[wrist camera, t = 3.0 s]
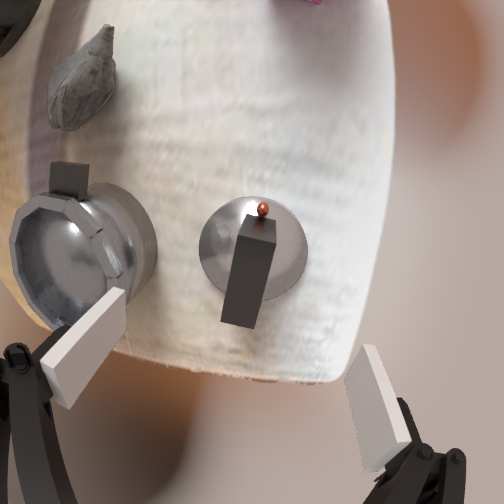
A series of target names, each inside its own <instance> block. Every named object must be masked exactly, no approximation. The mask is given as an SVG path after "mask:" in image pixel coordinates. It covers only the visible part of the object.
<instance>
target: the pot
mask: <svg viewBox="0 0 504 504" xmlns="http://www.w3.org/2000/svg"><path fill="white" fill-rule="evenodd" d="M89 165H90V164H81V163H72V162H62V161H58V162H52V163H51V167H50V185H49V193H47V192H44V193H41V194H38V195H36V196H34V197H33V198H32V199H30V200H29V201H28V202H27V203H25V204H24V205H23V206H22V207H21V208H19V209H18V210H17V211H16V215H15V218H14V222H13V226H12V230H11V234H10V238H9V240H10V241H9V245H10V253H11V260H12V267H13V273H14V276H15V278H16V280H17V282H18V284H19V287H20V289H21V291H22V293H23V295H24V297H25V299H26V301H27V303H28V305H30V307H31V308H32V310H33V311H34V312H35V313H36V314H37V315H38V316H39V317H40V318H41V319H42V320H43V321H44V322H45V323H46V324H47V325H48V326H49V327H50V328H51V329H53V331H55V330H56V329H57V328H59V327H61V326H63V325H65V324H67V325H69V326H71V327H72V326H73V325H74V324H75V323H76V322H77V321H78V320H79V319H80V318H81V317H82V316H83V315H84V314H85V313H86V312H87V311H88V310H89V309H90V308H91V307H93V306H94V305H95V304H96V303H97V302H98V301H99V300H100V299H101V298H102V297H103V296H104V295H105V294H106V293H107V292H108V291H109V290H110V289H112V288H113V287H116V288H119V289H123V290H125V302H126V305H127V304H128V303H129V302H130V301H131V300H132V298H133V297H134V296H135V295H136V294H137V293H138V291H139V290H140V289H141V288H142V287H143V286H144V285H145V283H146V282H147V281H148V280H149V278H150V277H151V275H152V273H153V270H154V267H155V264H156V258H157V242H156V236H155V231H154V228H153V225H152V223H151V220H150V218H149V216H148V214H147V213H146V211H145V209H144V208H143V207H142V205H141V204H140V203H139V202H138V201H137V199H136V198H135V197H134V196H132V195H131V194H130V193H129V192H127V191H126V190H124V189H122V188H120V187H118V186H116V185H112V184H108V183H97V184H92V185H89V186H88V175H89Z"/></svg>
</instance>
